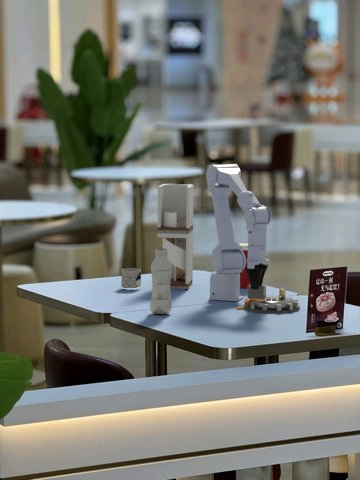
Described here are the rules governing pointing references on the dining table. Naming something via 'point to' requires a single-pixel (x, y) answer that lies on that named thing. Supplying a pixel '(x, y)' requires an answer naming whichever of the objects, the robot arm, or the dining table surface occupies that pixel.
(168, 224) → the display case
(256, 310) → the sprocket mat
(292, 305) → the sprocket
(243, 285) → the coffee cup
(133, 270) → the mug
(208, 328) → the dining table surface
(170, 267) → the plastic bottle
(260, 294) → the link block
